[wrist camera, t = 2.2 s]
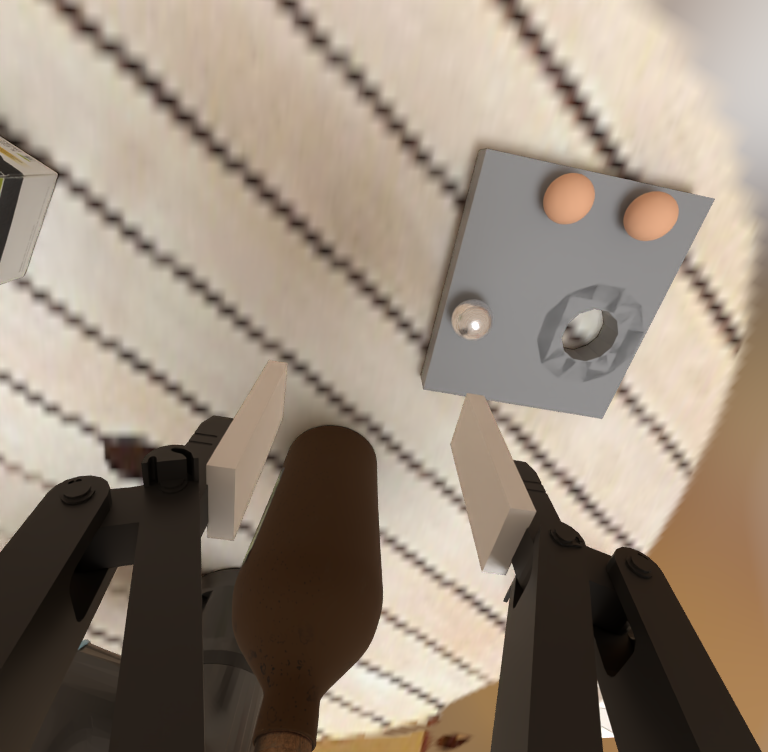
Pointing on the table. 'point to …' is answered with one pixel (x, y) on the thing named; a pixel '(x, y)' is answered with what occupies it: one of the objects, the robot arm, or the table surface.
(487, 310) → the ball
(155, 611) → the robot arm
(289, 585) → the olive oil
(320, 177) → the table surface
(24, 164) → the tea box
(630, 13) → the table surface
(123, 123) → the table surface
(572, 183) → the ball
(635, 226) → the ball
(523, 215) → the plate
